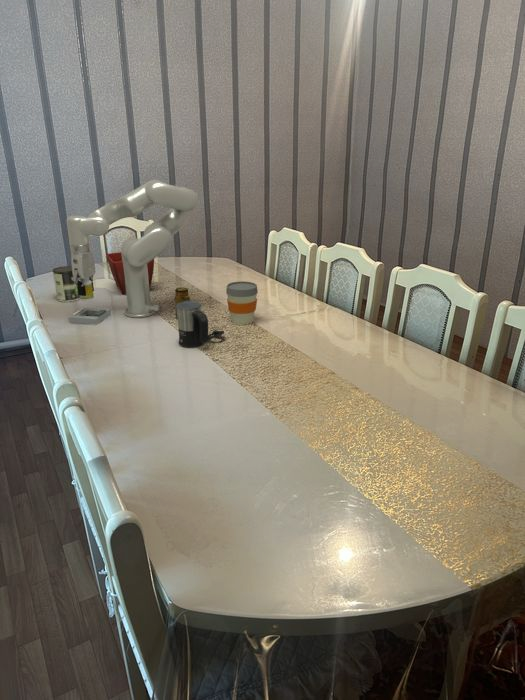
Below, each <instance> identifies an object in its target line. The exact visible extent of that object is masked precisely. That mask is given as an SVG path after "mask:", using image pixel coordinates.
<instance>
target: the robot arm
mask: <svg viewBox="0 0 525 700" xmlns="http://www.w3.org/2000/svg"><path fill="white" fill-rule="evenodd" d="M154 205H159V206H162V207H166V208H168V209H169V210H168V211H167V212H165V213H164V214H163V215H162V216H160V217H159V218H157V219H156V220H154V221H153V222H152V223H150V224H149V225H148V226H145V227H146V228H144V231H143V235H142V236H141V237H140V238H137V237H128V238H126V239H125V240H124V241H123V242H122V245H121V248H120V252H121V255H122V261H123V267H124V275H125V285H126V294H125V295H126V302H127V308H126V309H125V310H124V315H125V316H127V317H128V318H135V319H137V318H145V317H149V316H152V315H154V314H155V313H156V312H160V309H161V308H160V305H158V304H154V301H152V300H151V295H150V294H151V293H150V290H149V280H148V268H147V263H149V262H150V261H151V260H153V259H154V260H155V259H156V258H157V257H158V256H160V255H161V254H163V253H164V252H165V251H166V250H168V248H169V247H170V246H171V244H172V239H173V236H174V235H175V234H177V233H179V231H181V230H182V229H183V227H185V226H186V224H187V223H188V222H189V219H190V216H191V213H192V211H194V210H195V209H196V208H197V207H198V205H199V197H198V195H197V193H196V191H194V190H192V189H189V188H188V187H185V186H177V185H172V184H168V183H166V182H163V181H162V180H158V179H151V180H150V181H147V182H145V183H144V184H142V185H140V186H139V187H136V188H134V189H133V190H132V191H130V192H128V193H126V194H124V195H123V196H121V197H119V198H116V199H115V200H113V201H111V202H109V203H106V204H104V205H103V206H101V207H99V208H97V209H96V210H94V211H93V212H91V213H90V214H89V215H88V217H86V216H84V215H70V216H67V217H66V227H67V233H68V241H69V248H70V255H71V256H70V257H71V259H70V261H71V266H72V273H73V281H74V282H75V284H76V286H77V289H78V295H79V296H86V289H85V286H84V279H87V278H89V280H91V281H92V288H93V292H94V291H95V289H94V288H95V287H94V286H95V285H94V275H95V274H96V272H97V271H96V266H95V260H94V255H93V252H92V248H91V242H90V236H97V237H98V236H100V237H101V236H104V235H107V233H108V231H110V225H112V224H113V223H116V222H118V221H120V220H122V219H123V220H124V219H126V218H133V217H136V216H138V215H139V214H141V213H143V212H144V211H145V210H146V211H147V210H148V209H150V208H151V207H152V206H154ZM79 277H81V278H79ZM79 280H81V282H80V281H79Z"/></svg>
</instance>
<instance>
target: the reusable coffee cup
mask: <svg viewBox="0 0 525 700" xmlns="http://www.w3.org/2000/svg"><path fill="white" fill-rule="evenodd" d="M258 292H259V291H258V284H256V283H255V282H251V281H244V280H243V281H242V280H241V281H233V282H232V281H231V282H230V283H227V284H226V291H225V294H226V295H227V298H226V301H227V307H228V311H229V314H230V320H231V323H232V322H233V323H232V324H234V323H235V324H234V325H237V324H247V323H251V322H253V323H254V319H255V312H256V310H257V303H258V298H257V296H258ZM251 324H252V323H251Z"/></svg>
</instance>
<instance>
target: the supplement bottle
mask: <svg viewBox="0 0 525 700" xmlns="http://www.w3.org/2000/svg"><path fill="white" fill-rule="evenodd" d="M79 278H81V277H79ZM79 281H80V282H81V280H79ZM92 282H93V281H91V280H89V278H87V279H84V286H85V289H86V296H80V299H79V300H81V301H92V300H93V299H94V298H95V297H94V291H93V288H92Z"/></svg>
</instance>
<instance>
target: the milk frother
mask: <svg viewBox="0 0 525 700" xmlns="http://www.w3.org/2000/svg"><path fill="white" fill-rule="evenodd" d="M202 305H203V304H202V302H199V301H195V300H193V301H191V300H190V301H186V302H181V303H178V304H176V307H177V317H178V319H177V328H178V344H179V346H181V347H182V348H183V347H184V348H195V347H199V346H202V345H204V343H207V342H208V341H209V340H213V339H215V338H218V337H221V336H222V335H224V334H225V331H224V330H217V329H215V330H213V331H212V332H211V333H209V320H208V317H207V315H206V313H205V312H204V311H202Z"/></svg>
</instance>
